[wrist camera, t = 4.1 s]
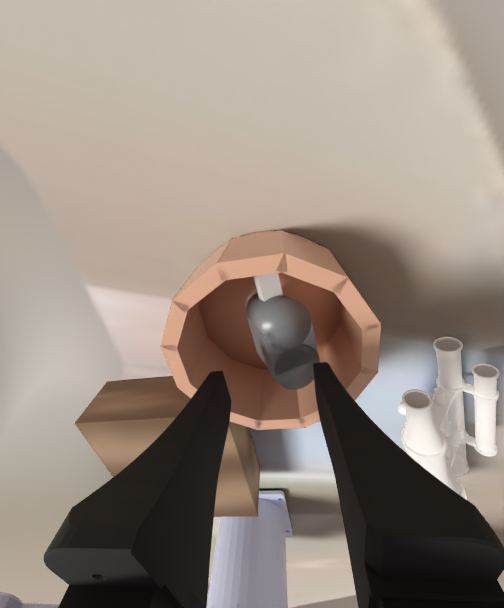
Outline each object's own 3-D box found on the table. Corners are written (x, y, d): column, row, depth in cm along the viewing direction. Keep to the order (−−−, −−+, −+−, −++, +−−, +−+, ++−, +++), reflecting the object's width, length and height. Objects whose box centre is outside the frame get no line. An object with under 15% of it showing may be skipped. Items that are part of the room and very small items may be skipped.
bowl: (350, 364, 19) (374, 424, 14) (212, 376, 20) (196, 433, 16) (351, 216, 14) (387, 238, 10) (171, 245, 16) (131, 275, 11)
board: (260, 469, 26) (257, 516, 22) (158, 471, 27) (141, 516, 24) (233, 371, 20) (225, 414, 16) (107, 381, 22) (74, 423, 18)
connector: (297, 354, 17) (323, 379, 14) (261, 368, 17) (280, 397, 14) (276, 263, 16) (300, 267, 12) (235, 276, 15) (250, 283, 12)
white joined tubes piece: (405, 327, 19) (503, 344, 15) (424, 441, 25) (498, 475, 21) (351, 404, 16) (461, 455, 11) (387, 516, 21) (469, 577, 17)
